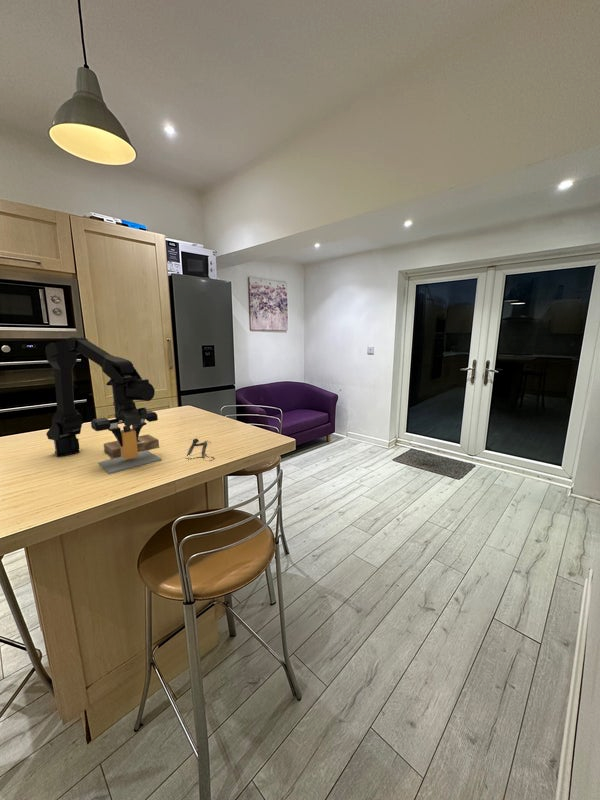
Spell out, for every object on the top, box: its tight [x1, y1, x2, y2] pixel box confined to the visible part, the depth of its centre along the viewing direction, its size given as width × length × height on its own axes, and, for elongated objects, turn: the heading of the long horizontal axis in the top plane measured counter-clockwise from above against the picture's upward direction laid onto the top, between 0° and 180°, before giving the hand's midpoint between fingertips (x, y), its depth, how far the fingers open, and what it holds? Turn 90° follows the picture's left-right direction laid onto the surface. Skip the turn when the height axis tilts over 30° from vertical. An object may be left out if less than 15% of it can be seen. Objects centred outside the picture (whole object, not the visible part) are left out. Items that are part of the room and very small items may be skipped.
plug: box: [120, 425, 139, 460], centre depth 107 cm, size 4×4×10 cm
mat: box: [97, 450, 162, 475], centre depth 109 cm, size 16×12×1 cm
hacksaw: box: [186, 438, 216, 462], centre depth 120 cm, size 24×10×2 cm, turn 10°
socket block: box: [103, 434, 160, 459], centre depth 121 cm, size 16×10×3 cm, turn 136°
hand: (128, 444), depth 108 cm, fingers closed on plug, 4 cm apart
